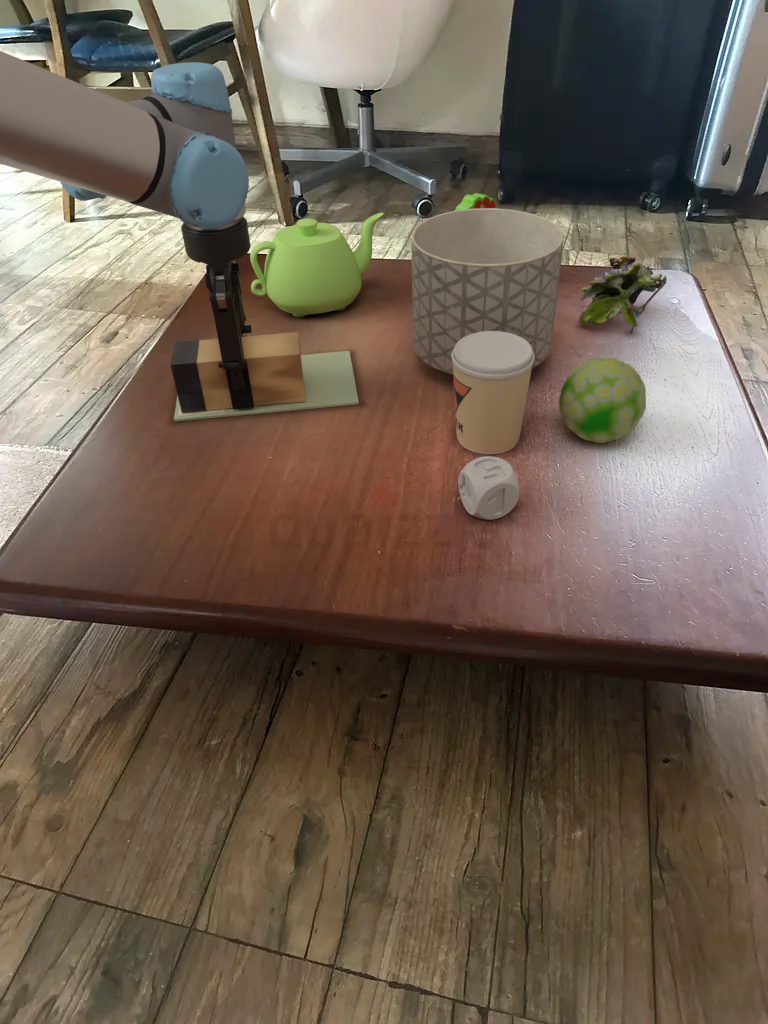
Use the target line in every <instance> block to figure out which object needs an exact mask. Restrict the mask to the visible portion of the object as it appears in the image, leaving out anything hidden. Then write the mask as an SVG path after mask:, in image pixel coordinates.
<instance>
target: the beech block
mask: <svg viewBox="0 0 768 1024" xmlns="http://www.w3.org/2000/svg"><path fill="white" fill-rule="evenodd" d="M299 333H300V332H299V331H292V332H281V333H280V332H279V333H270V334H256V335H247V336H246V335H243V336H244V337H242V344H243V351H244V358H245V359H246V361H247V366H248V372H249V378H250V384H251V390H252V396H253V402H254V406H260V405H270V404H281V403H292V402H303V401H306V400H305V388H304V376H303V367H302V359H301V355H302V350H301V342H300V334H299ZM219 362H222V358H221V352H220V347H219V341H218V338H211V339H191V340H182V341H174V344H173V348H172V354H171V360H170V369H171V374H172V377H173V378H172V379H173V382H174V386H175V390H176V395H178V399H179V403H180V408H181V412H182V413H189V412H200V411H207V410H216V409H227V408H233V407H232V402H231V397H230V391H229V386H228V381H227V375H226V370H224V369H223V368H219V366H218V364H219Z"/></svg>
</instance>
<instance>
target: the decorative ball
mask: <svg viewBox="0 0 768 1024" xmlns="http://www.w3.org/2000/svg"><path fill="white" fill-rule="evenodd" d="M646 392H647V388H646V384H645V382H644V381H643V379H642V377H641V375H640V374H639V373H638V371H637V370H636V369H635V368H634V367H633V366H631V365H630V364H629V363H626V362H625V361H623V360H621V359H618V358H615V357H607V356H605V357H594V358H590V359H587V360H585V361H584V362H581V363H580V364H578V365H577V366H576V367H575V368H574V369H573V370H571V371H570V372H569V375H568V376H567V377H566V379H565V381H564V383H563V385H562V388H561V390H560V393H559V397H558V403H559V404H558V409H559V412H560V415H561V417H562V419H563V421H564V423H565V425H566V427H567V429H568V430H570V431H571V432H572V433H574V434H575V435H577V436H578V438H580V439H582V440H585V441H589V442H593V443H600V444H604V443H608V442H612V441H616V440H619V439H620V438H624V437H625V436H627V435H629V434H630V433H631V432H632V431H634V430H635V429H636V426H637V425H638V424H639V423H640V421H641V420H642V418H643V416H644V414H645V412H646V407H647V401H646V400H647V397H646V396H647V393H646Z"/></svg>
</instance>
